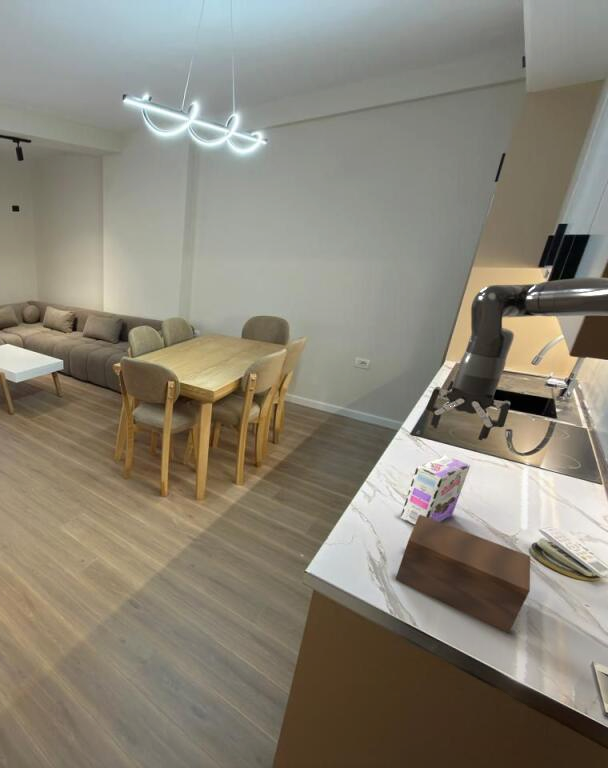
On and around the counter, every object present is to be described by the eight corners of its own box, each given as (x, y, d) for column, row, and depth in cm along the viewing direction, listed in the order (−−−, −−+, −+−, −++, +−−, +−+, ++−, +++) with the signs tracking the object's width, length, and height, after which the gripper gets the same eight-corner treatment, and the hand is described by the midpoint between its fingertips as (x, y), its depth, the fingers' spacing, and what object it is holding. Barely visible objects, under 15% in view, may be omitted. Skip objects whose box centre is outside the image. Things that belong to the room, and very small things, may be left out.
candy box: (423, 531, 102) (442, 477, 96) (399, 518, 107) (415, 466, 101) (452, 516, 107) (472, 464, 101) (428, 504, 112) (445, 454, 106)
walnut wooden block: (510, 597, 83) (530, 556, 79) (508, 634, 76) (529, 590, 72) (406, 551, 95) (419, 514, 92) (395, 579, 88) (408, 539, 84)
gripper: (437, 368, 94) (418, 428, 100) (522, 383, 85) (495, 448, 91) (442, 362, 99) (423, 419, 105) (522, 375, 90) (497, 438, 95)
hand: (457, 433), depth 98 cm, fingers open, 8 cm apart
